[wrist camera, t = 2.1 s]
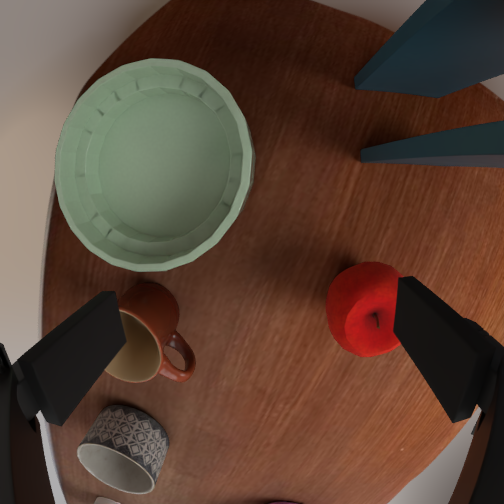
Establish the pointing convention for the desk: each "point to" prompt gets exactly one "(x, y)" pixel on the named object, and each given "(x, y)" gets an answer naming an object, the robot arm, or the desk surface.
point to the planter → (124, 449)
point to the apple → (364, 308)
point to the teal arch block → (441, 79)
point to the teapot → (282, 503)
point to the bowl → (154, 165)
